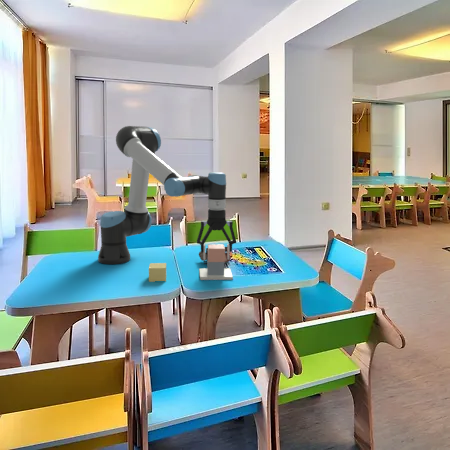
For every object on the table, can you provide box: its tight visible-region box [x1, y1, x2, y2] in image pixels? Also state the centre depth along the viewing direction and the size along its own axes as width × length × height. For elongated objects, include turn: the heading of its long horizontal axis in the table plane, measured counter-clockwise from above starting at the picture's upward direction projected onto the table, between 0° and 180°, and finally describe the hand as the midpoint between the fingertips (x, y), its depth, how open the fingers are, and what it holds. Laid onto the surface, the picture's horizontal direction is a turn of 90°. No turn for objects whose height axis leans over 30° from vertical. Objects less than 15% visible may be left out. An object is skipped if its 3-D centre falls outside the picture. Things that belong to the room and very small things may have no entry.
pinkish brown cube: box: [207, 243, 226, 262], centre depth 177 cm, size 7×7×6 cm
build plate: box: [198, 267, 234, 281], centre depth 179 cm, size 14×12×1 cm
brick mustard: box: [148, 262, 167, 283], centre depth 173 cm, size 7×7×6 cm
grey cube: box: [206, 257, 225, 275], centre depth 179 cm, size 7×7×6 cm
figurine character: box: [198, 246, 231, 265], centre depth 197 cm, size 7×8×15 cm
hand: (216, 258), depth 178 cm, fingers open, 10 cm apart
